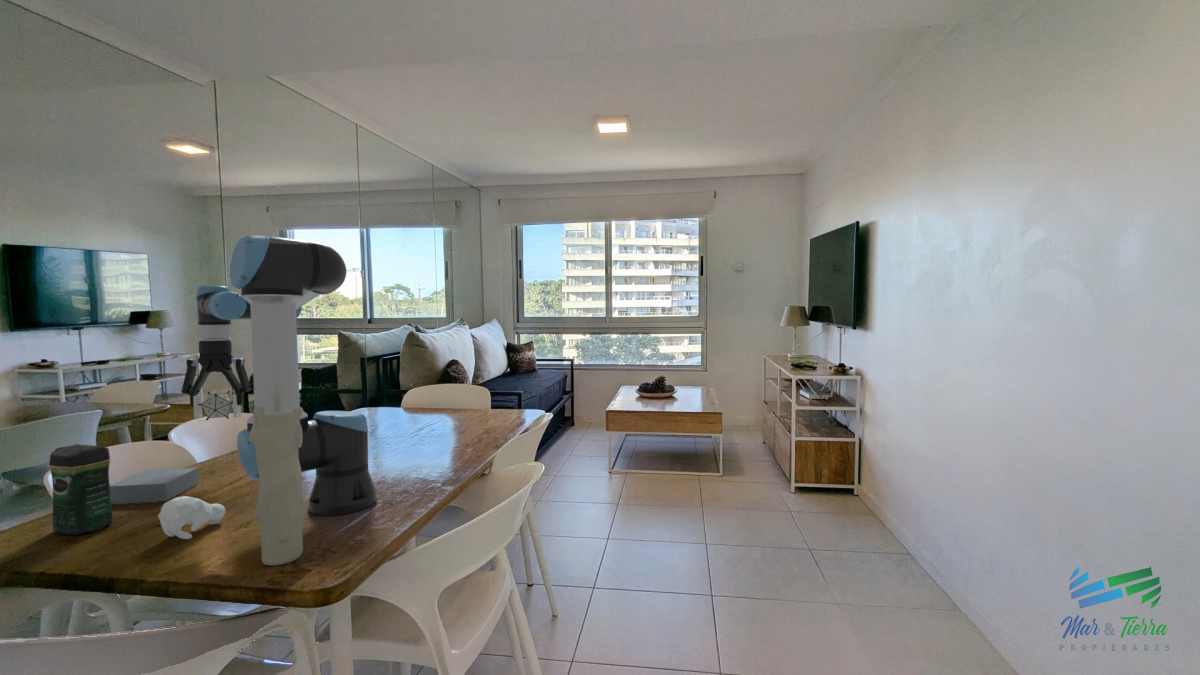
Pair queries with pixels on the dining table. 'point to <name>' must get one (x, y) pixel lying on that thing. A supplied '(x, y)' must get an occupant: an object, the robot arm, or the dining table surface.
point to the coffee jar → (80, 488)
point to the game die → (217, 405)
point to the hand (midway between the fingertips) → (218, 416)
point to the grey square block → (153, 485)
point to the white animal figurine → (188, 515)
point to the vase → (279, 484)
